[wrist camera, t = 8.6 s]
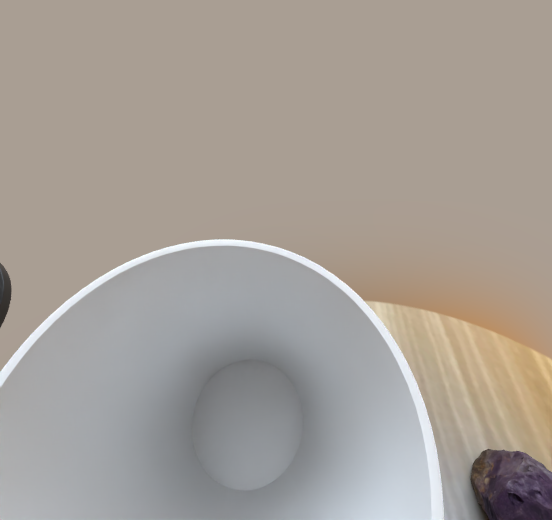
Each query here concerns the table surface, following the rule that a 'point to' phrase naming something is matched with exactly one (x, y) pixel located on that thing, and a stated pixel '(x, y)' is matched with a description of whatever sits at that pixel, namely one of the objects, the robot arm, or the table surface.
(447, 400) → the table surface
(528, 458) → the rock
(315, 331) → the cup
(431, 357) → the table surface
